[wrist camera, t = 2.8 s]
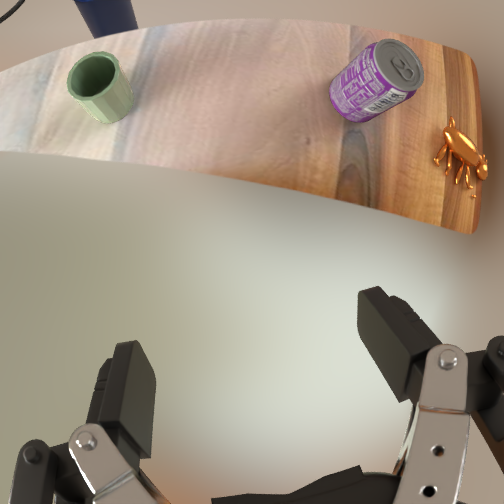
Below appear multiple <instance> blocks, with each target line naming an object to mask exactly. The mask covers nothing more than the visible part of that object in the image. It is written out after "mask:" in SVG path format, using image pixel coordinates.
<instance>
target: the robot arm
mask: <svg viewBox="0 0 504 504" xmlns="http://www.w3.org/2000/svg"><path fill="white" fill-rule="evenodd" d="M24 1H25V0H19V1H18V2H17V4H16V5H15V6H14V7H13V8H12V9H11V10H9V11H8V12H7V13H6V14H5V15H3V16H2V17H1V18H0V23H2V22H3V21H4V20H6V19H7V18H8V17H10V16H11V15H12V14H13V13H14V12H15V11H16V10H17V9H18V8H19V7H20V6H21V5H22V4H23V3H24ZM357 314H358V315H357V327H358V332H359V335H360V338H361V340H362V342H363V343H364V345H365V347H366V348H367V349H368V351H369V353H370V355H371V356H372V358H373V360H374V361H375V363H376V365H377V366H378V368H379V369H380V371H381V373H382V375H383V376H384V378H385V380H386V381H387V383H388V385H389V386H390V388H391V390H392V391H393V393H394V395H395V396H396V398H397V400H398V402H399V403H400V402H402V401H405V400H407V399H410V400H411V402H412V404H413V405H412V408H411V412H410V417H409V421H408V425H407V429H406V433H405V437H404V440H403V444H402V448H401V451H400V454H399V457H398V460H397V462H396V465H395V468H394V471H393V474H390V473H383V472H364V473H363V472H362V470H361V467H360V465H358V466H355V467H352V468H349V469H346V470H343V471H340V472H337V473H334V474H330V475H327V476H324V477H322V478H320V479H318V480H316V481H314V482H313V483H311V484H309V485H307V486H305V487H303V488H301V489H299V490H297V491H294V492H292V493H290V494H283V495H282V494H280V495H279V494H276V495H275V494H242V495H235V496H228V497H221V498H212V499H211V501H212V504H466V503H463V502H460V501H458V500H457V499H458V494H459V489H460V485H461V480H462V475H463V469H464V464H465V457H466V451H467V443H468V435H469V426H470V415H471V417H472V418H473V420H474V422H475V423H476V425H477V427H478V429H479V430H480V432H481V434H482V435H483V437H484V439H485V440H486V442H487V444H488V446H489V448H490V450H491V451H492V453H493V455H494V457H495V459H496V461H497V462H498V464H499V466H500V468H501V470H502V472H503V474H504V336H497V337H494V338H493V339H491V340H490V341H489V343H488V346H487V348H486V350H482V351H476V352H470V353H464V351H463V350H462V349H460V348H459V347H457V346H454V345H451V344H442V342H441V341H440V340H439V339H438V338H437V337H436V335H435V334H434V333H433V332H432V331H431V330H430V328H429V327H428V326H427V325H426V324H425V323H424V322H423V320H422V319H420V317H419V316H418V315H417V314H416V312H414V311H413V309H412V308H411V307H410V306H409V305H408V303H407V302H406V301H404V300H402V299H400V298H398V297H396V296H390V297H389V296H388V295H387V294H386V293H385V292H384V291H383V290H382V288H381V287H379V286H376V287H372V288H369V289H365V290H362V291H359V293H358V313H357ZM94 389H95V391H94V392H93V396H92V400H91V404H90V408H89V412H88V416H87V420H86V424H84V425H82V426H80V427H78V428H77V429H76V430H75V431H74V432H73V433H72V435H71V436H70V439H69V442H67V443H64V444H60V445H57V446H53V447H49V446H48V445H47V444H46V443H45V442H43V441H42V440H38V439H35V440H31V441H29V442H27V443H26V444H25V445H24V446H23V447H22V448H21V450H20V452H19V455H18V458H17V463H16V467H15V471H14V476H13V481H12V486H11V491H10V497H9V502H8V504H52V503H53V494H55V501H54V504H171V503H170V502H169V501H168V500H167V499H166V498H165V497H164V496H163V495H162V493H161V492H160V491H159V490H158V489H157V488H156V486H154V484H153V483H152V482H151V481H150V479H149V478H148V477H147V476H146V475H145V473H144V472H143V471H142V470H141V469H140V468H139V463H140V459H145V458H151V445H152V430H153V416H154V404H155V392H156V378H155V374H154V371H153V369H152V367H151V365H150V363H149V361H148V359H147V357H146V355H145V353H144V351H143V349H142V347H141V345H140V343H139V342H138V341H137V340H134V341H129V342H122V343H118V344H117V345H116V347H115V351H114V355H113V358H110V359H107V360H106V361H105V363H104V364H103V365H102V367H101V368H100V370H99V374H98V377H97V382H96V385H95V388H94Z"/></svg>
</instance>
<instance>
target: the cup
mask: <svg viewBox="0 0 504 504" xmlns="http://www.w3.org/2000/svg"><path fill="white" fill-rule="evenodd" d="M67 88H68V92H69V93H70V94H71V96H72V97H73V98H74V99H75V100H76V101H77V102H78V103H79V104H80V105H81V106H82V107H83V108H84V109H85V110H86V111H87V112H88V113H89V114H90V115H91V116H92V117H93V118H94V119H96V120H97V121H99V122H101V123H114V122H116V121H119V120H120V119H122V118H123V117H125V116H126V115H127V113H128V112H129V111H130V109H131V107H132V105H133V102H134V94H133V91H132V88H131V86H130V84H129V82H128V80H127V78H126V76H125V74H124V72H123V70H122V68H121V66H120V63H119V61H118V60H117V59H116V58H115V57H114V55H112V54H110V53H107V52H103V51H102V52H93V53H91V54H88V55H86V56H84V57H83V58H81V59H80V60H79V61H78V62H76V63H75V65H74V66H73V68H72V69H71V71H70V72H69V75H68V79H67Z"/></svg>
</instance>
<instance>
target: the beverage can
mask: <svg viewBox="0 0 504 504" xmlns="http://www.w3.org/2000/svg"><path fill="white" fill-rule="evenodd" d="M423 80H424V71H423V67H422V64H421V62H420V60H419V59H418V57H417V56H416V54H415V53H414V52H413V51H412V50H411V49H410V48H409V47H408V46H407V45H405V44H404V43H402V42H400V41H398V40H394V39H383V40H381V41H380V42H376V43H373V44H370V45H369V46H368V47H366V48H365V49H364V50H363V51H362V52H361V53H360V54H359V55H358V56H357V57H356V58H355V59H354V60H353V61H352V62H351V63H350V64H349V65H348V66H347V67H346V68H345V69H343V70H342V71H341V72H340V73H339V74H338V75H337V76H336V77H335V78H334V79H333V81H332V82H331V85H330V89H329V94H330V99H331V102H332V104H333V106H334V107H335V109H336V110H337V111H338V112H339V113H340V114H341V115H342V116H343V117H345V118H346V119H348V120H350V121H353V122H359V123H361V122H366V121H369V120H371V119H372V118H374V117H376V116H378V115H380V114H381V113H383V112H385V111H387V110H389V109H390V108H392V107H394V106H396V105H398V104H400V103H401V102H403V101H405V100H407V99H409V98H411V97H412V96H413V95H414V94H415V92H416V91H417V89H418V88H419V87H420V86H421V85H422V83H423Z"/></svg>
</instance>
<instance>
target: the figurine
mask: <svg viewBox="0 0 504 504" xmlns="http://www.w3.org/2000/svg"><path fill="white" fill-rule="evenodd" d="M443 136H444V139H445V145H444V146H443V147H442V148H441V149H440V151H439V152H438V154H437V157H436V159H434V162H435V164H436V165H437V166H438V167H439V166H440V165H439V163H438V162H439V161H440V160H442V159H443V157H444V156H445V153H446V150H447V146H448V148H449V154H448V168H447V169H446V171H445V174H446V176H448V175H449V172H450V170H451V167H452V155H453V156H454V157H455V158H457V159H458V160H459V161H460V162H462V165H461V166H460V168H459V169H458V171H457V174H456V177H455V184H456V185H457V184H458V182H459V180H460V178H461V175H462V171H463V167H464V164H466V165H467V167H466V173H465V178H466V185H467V188H468V189H473V187H472V186H470V171H469V167H468V166H476V165H477V163H478V162H479V163H478V165H477V166H476V174H477V176H478V178H479V179H480V180H482V181H483V180H485V179H486V178H487V175H488V168H487V165H488V164H487V160H486V161H485V156H484V154H483V156H482V157H481V155H480V154H479V152H478V149H477V147H476V146H475V144H474V143H473V142H472V140H471V139H470V138H469V137H468V136H467V135H465V134H464V133H463V132H461V131H460V130H458V129H456V127H455V122H454V119H453V117H450V120H449V126H447V127H445V128H444V130H443ZM484 161H485V162H484ZM472 197H473V198H476V196H475V195H472Z"/></svg>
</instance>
